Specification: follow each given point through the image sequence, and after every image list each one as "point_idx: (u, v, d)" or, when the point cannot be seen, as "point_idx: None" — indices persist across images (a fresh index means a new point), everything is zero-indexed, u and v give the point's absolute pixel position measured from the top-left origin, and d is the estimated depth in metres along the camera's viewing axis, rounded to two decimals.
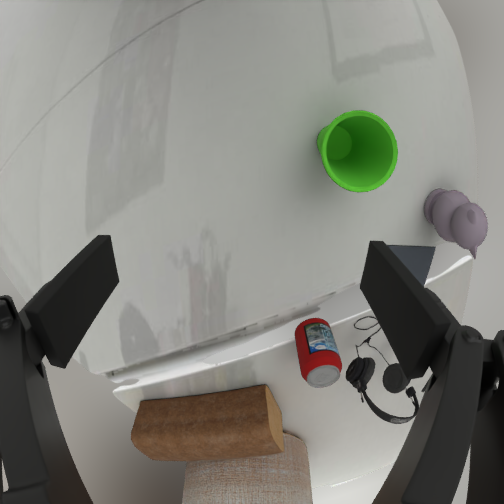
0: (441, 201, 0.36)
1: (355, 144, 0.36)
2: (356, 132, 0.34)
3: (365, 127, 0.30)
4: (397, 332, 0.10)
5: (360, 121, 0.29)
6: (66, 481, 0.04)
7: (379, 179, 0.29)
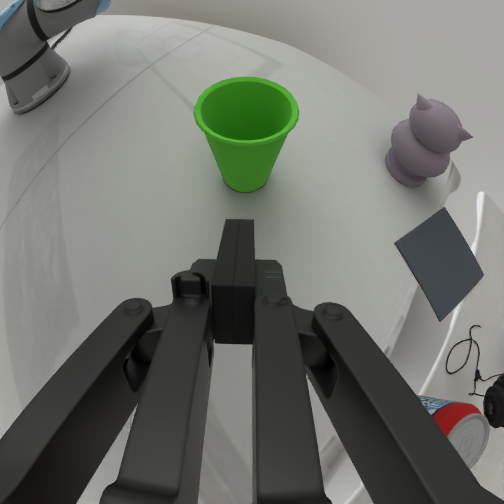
0: (394, 140, 0.30)
1: None
2: None
3: (250, 114, 0.28)
4: None
5: (237, 107, 0.27)
6: (189, 489, 0.04)
7: (290, 120, 0.22)
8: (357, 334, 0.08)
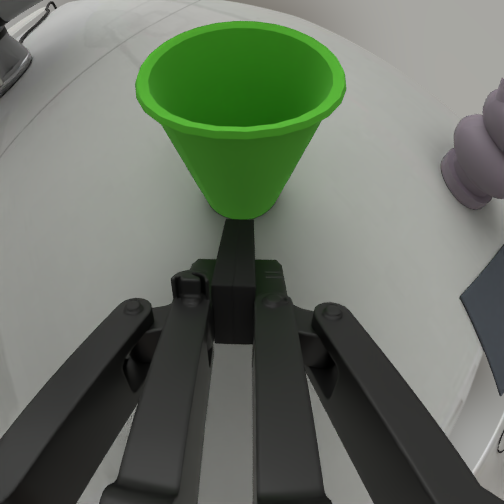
0: (463, 143, 0.17)
1: None
2: None
3: (247, 88, 0.15)
4: None
5: (225, 76, 0.14)
6: (189, 489, 0.04)
7: (330, 89, 0.10)
8: (357, 334, 0.08)
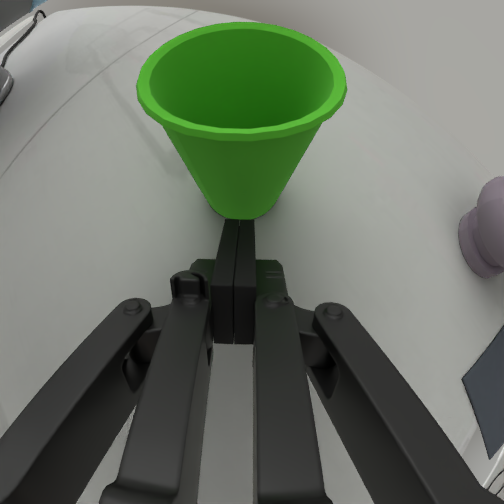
0: (488, 218, 0.15)
1: None
2: None
3: (247, 89, 0.15)
4: None
5: (225, 77, 0.14)
6: (189, 489, 0.04)
7: (331, 90, 0.10)
8: (357, 334, 0.08)
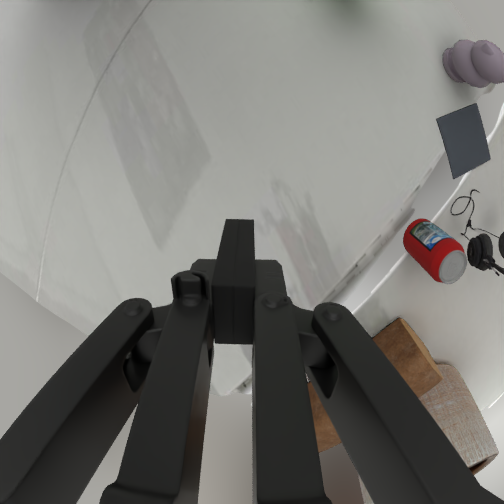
0: (455, 54, 0.26)
1: None
2: None
3: None
4: None
5: None
6: (189, 489, 0.04)
7: None
8: (357, 334, 0.08)
